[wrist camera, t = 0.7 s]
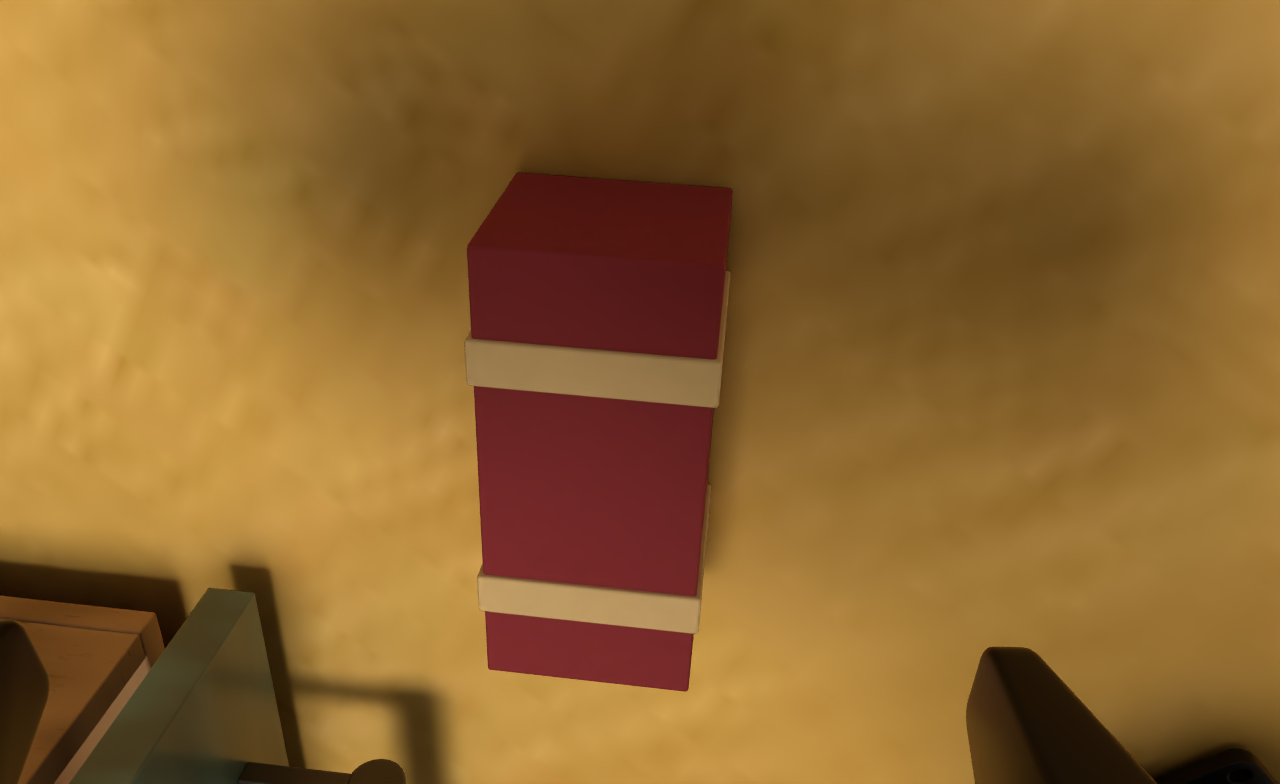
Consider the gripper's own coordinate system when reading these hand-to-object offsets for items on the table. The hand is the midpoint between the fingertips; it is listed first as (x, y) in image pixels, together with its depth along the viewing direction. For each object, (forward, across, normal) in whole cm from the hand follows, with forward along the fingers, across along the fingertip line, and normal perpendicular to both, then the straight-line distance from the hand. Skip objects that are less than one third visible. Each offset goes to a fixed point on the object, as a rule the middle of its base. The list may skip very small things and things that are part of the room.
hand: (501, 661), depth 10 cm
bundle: (+12, 0, +5) cm, 13 cm away
